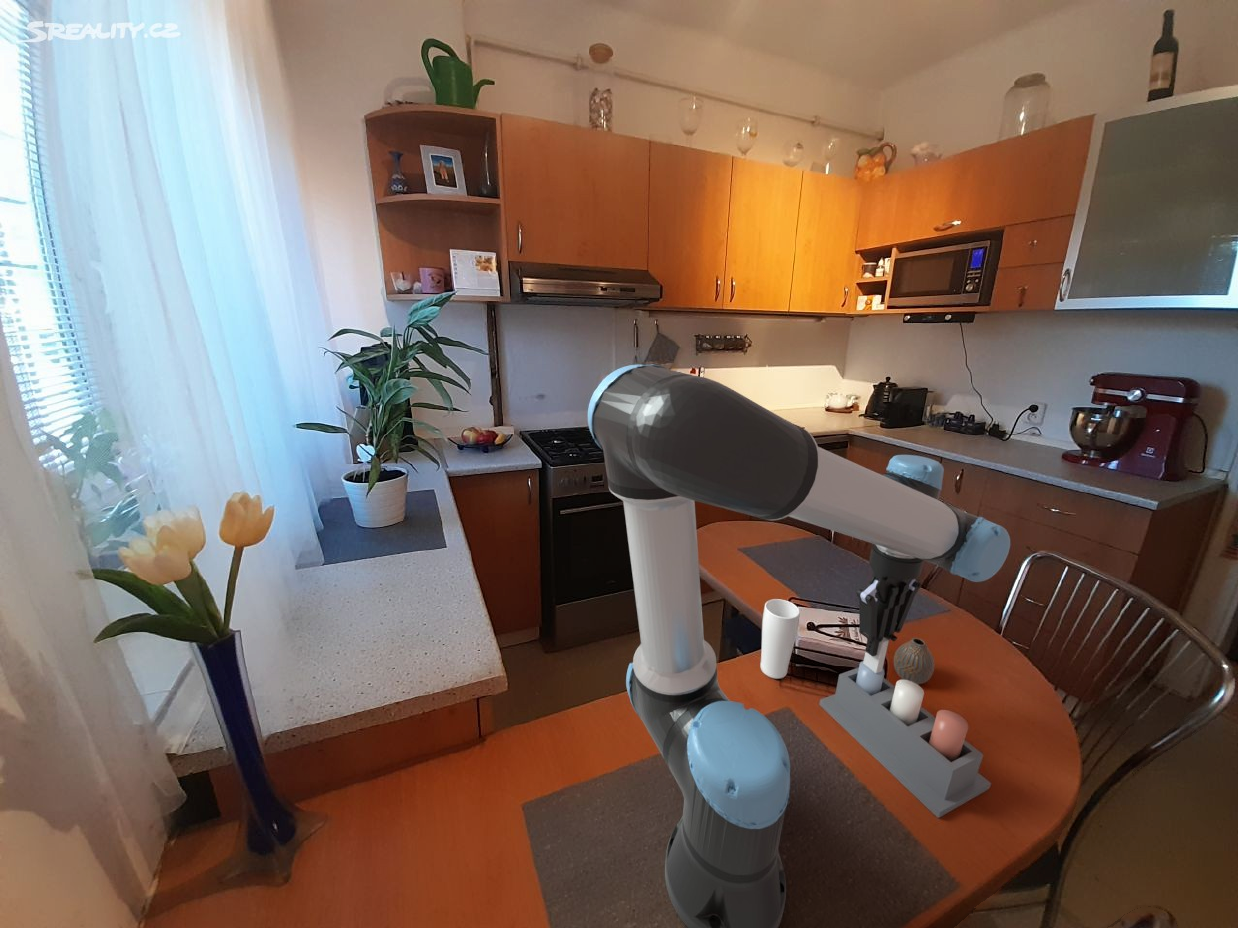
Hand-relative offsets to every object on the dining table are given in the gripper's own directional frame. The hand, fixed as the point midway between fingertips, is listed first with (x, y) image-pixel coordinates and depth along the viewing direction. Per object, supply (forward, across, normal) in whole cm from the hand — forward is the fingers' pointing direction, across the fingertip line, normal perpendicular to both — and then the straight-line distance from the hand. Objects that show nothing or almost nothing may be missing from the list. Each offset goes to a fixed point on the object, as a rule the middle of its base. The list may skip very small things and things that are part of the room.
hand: (872, 667), depth 86 cm
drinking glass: (+11, -8, +15) cm, 20 cm away
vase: (+11, +17, +3) cm, 20 cm away
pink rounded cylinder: (+6, 0, -14) cm, 15 cm away
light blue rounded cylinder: (+7, 0, 0) cm, 7 cm away
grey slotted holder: (+10, 0, -7) cm, 12 cm away
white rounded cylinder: (+6, 0, -7) cm, 9 cm away
